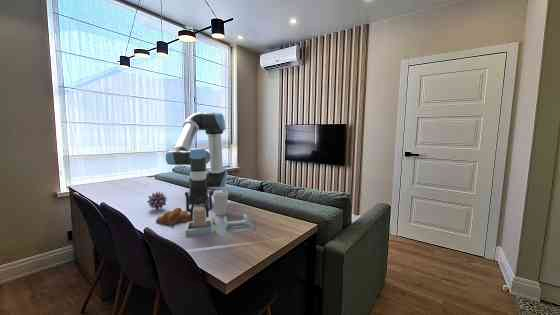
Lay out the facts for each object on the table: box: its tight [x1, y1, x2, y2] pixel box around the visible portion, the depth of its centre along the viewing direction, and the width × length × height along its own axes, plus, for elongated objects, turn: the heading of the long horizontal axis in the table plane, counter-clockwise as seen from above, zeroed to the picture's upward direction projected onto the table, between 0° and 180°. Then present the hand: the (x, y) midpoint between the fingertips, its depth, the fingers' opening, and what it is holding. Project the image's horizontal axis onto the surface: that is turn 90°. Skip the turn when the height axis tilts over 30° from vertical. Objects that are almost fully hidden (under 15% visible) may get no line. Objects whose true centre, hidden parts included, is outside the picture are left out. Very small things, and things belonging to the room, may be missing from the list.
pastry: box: [155, 207, 193, 226], centre depth 136 cm, size 17×15×8 cm
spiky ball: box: [146, 191, 168, 210], centre depth 156 cm, size 12×12×12 cm
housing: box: [179, 216, 255, 239], centre depth 126 cm, size 16×36×4 cm, turn 107°
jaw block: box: [193, 206, 206, 227], centre depth 123 cm, size 6×5×8 cm
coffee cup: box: [212, 189, 229, 216], centre depth 147 cm, size 10×10×15 cm
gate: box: [223, 213, 248, 230], centre depth 128 cm, size 8×12×5 cm
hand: (199, 223), depth 123 cm, fingers closed on jaw block, 5 cm apart
